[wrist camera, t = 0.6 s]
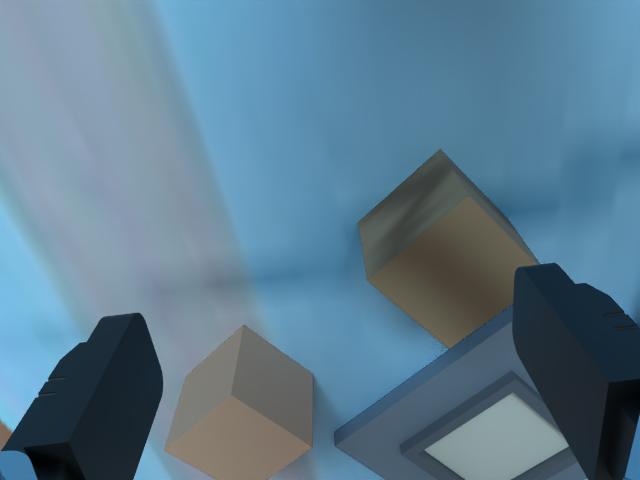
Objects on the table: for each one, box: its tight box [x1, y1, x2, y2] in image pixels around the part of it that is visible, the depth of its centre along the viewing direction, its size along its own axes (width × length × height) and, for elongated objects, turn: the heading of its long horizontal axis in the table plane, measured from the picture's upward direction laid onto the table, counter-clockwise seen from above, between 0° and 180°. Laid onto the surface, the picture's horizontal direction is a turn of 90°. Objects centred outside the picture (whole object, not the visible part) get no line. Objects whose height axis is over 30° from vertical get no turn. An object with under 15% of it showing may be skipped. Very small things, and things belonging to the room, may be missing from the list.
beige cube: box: [164, 325, 313, 480], centre depth 33 cm, size 6×6×6 cm
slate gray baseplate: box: [334, 305, 587, 480], centre depth 37 cm, size 16×16×2 cm
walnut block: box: [358, 149, 540, 349], centre depth 27 cm, size 6×6×6 cm
